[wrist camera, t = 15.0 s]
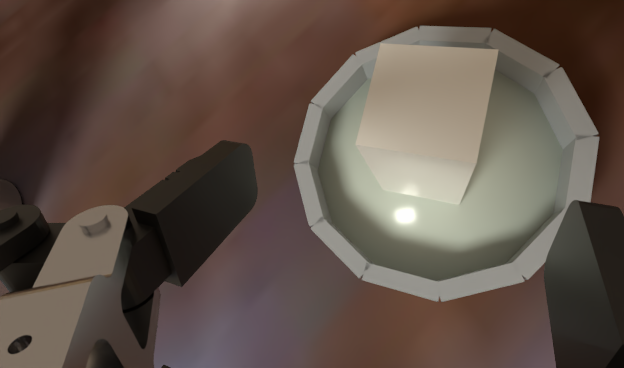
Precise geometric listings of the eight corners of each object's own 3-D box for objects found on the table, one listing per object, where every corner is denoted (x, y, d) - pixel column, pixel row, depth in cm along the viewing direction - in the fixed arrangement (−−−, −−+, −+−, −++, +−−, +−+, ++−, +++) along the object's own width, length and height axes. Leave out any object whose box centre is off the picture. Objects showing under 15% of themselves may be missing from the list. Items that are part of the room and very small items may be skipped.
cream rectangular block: (382, 189, 23) (355, 144, 15) (398, 122, 24) (380, 43, 15) (459, 205, 21) (476, 163, 13) (473, 132, 22) (498, 49, 14)
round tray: (287, 255, 25) (269, 253, 22) (341, 47, 28) (331, 23, 25) (551, 330, 20) (571, 339, 17) (591, 61, 22) (614, 31, 19)
